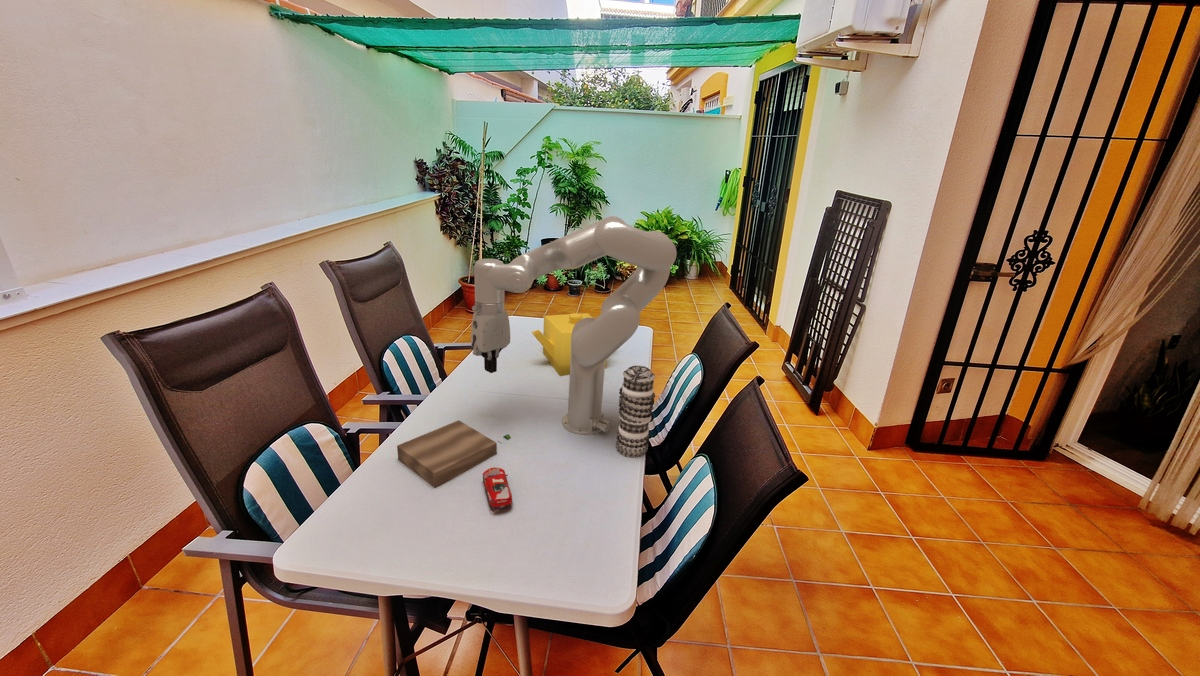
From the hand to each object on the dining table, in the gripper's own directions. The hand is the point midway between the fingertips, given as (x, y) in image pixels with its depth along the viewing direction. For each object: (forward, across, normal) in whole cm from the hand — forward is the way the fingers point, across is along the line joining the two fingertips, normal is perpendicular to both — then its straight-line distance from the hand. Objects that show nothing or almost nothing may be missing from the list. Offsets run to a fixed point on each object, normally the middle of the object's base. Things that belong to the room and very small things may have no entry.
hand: (490, 370), depth 134 cm
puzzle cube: (+18, -3, -10) cm, 21 cm away
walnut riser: (+17, -18, -5) cm, 25 cm away
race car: (+19, -17, -22) cm, 33 cm away
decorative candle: (+17, +17, -38) cm, 45 cm away
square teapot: (+17, +46, +11) cm, 50 cm away
